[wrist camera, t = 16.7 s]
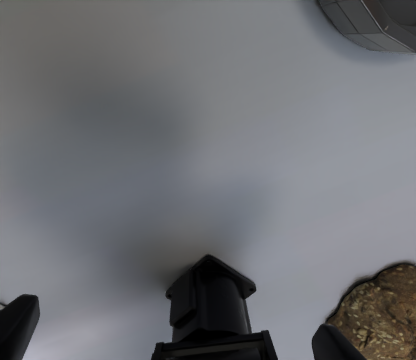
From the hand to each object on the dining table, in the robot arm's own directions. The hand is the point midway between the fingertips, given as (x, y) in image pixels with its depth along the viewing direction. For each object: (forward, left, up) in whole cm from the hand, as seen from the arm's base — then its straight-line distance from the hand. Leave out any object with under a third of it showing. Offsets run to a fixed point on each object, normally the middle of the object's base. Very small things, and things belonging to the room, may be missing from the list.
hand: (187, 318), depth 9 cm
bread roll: (-27, -1, -13) cm, 30 cm away
